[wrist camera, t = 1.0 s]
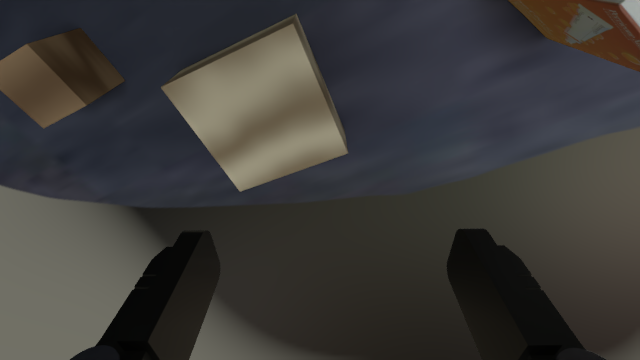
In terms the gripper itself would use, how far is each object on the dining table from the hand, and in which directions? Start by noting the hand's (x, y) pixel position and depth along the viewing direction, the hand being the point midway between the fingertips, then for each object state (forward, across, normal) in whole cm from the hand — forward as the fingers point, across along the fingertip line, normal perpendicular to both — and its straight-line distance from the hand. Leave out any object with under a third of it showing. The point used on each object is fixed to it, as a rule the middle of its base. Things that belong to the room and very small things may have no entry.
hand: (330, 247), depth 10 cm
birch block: (+22, +6, +2) cm, 23 cm away
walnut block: (+21, +23, -2) cm, 31 cm away
